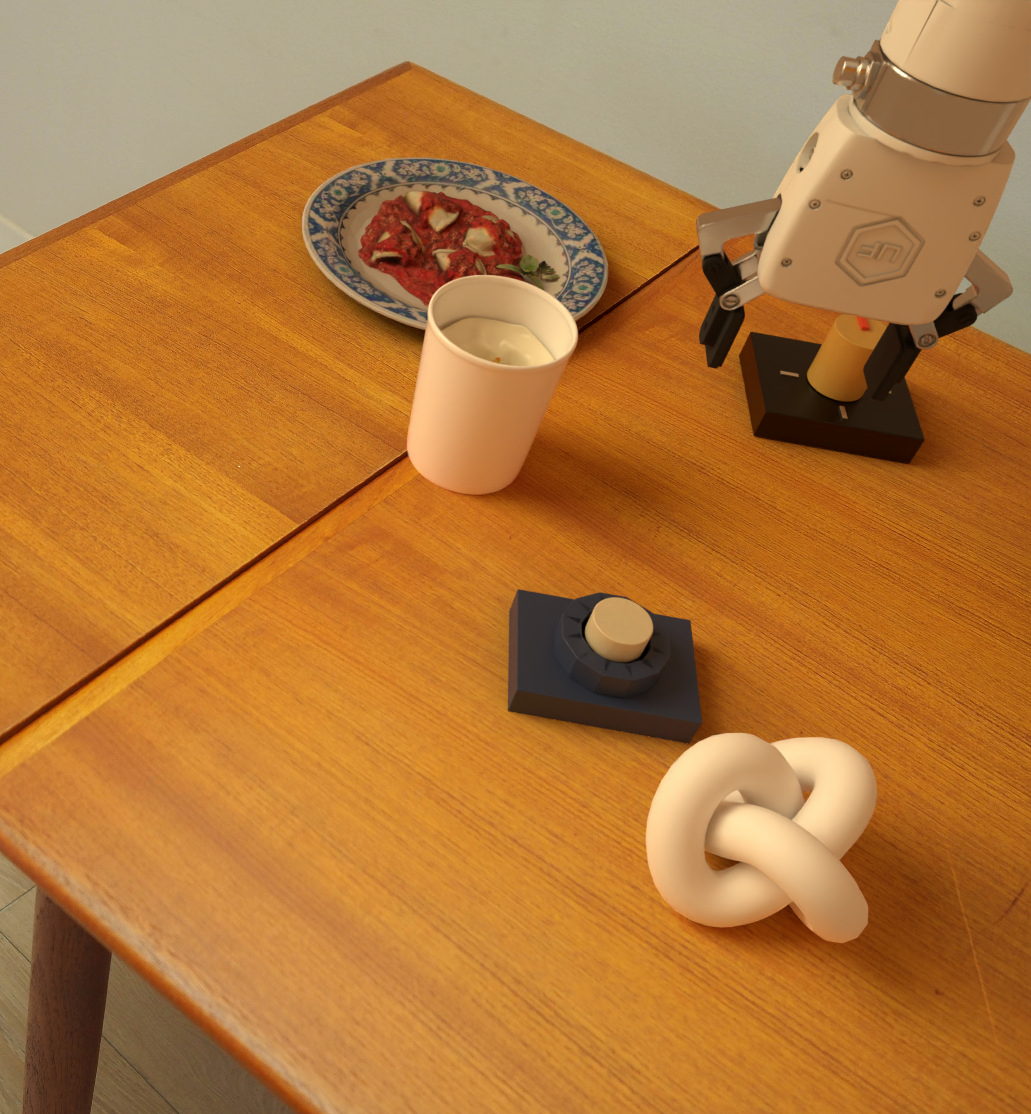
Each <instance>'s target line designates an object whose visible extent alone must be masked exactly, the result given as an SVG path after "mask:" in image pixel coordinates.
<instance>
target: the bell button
mask: <svg viewBox="0 0 1031 1114" xmlns="http://www.w3.org/2000/svg"><path fill="white" fill-rule="evenodd" d="M633 601H634V600H632V601H630V600H627V599H624V598H617V597H613V598H607V599H604V600H602V601H600V602H599V603H598V604H597V605H596V606H595V607H594V610H593V612H592V614H591V616H590V618H589V620H588V623H587V625H586V627H585V637H586V640H587V642H588V644H589V646H590V647H591V648H592V649H593V650H594V651H595V652H596V653H597V654H598V655H600V656H601V657H603V658H605V659H608V660H611V661H614V662H630V661H633V660H635V659H637V658H638V657H639V656H640V655H641V654H642V652H643V651H644V649H645V647H646V645H647V643H648V641H649V639H650V637H651V635H652V633H653V623H652V620H651V618H650V616H649V614H648V613H647V612H646V611H645V610H644V609H643V608H642V607H641V606H642V605H641V606H639V605H640V604H639V603H638V604H639V605H638V604H636V603H637V602H636V601H634V602H633ZM635 602H636V603H635Z"/></svg>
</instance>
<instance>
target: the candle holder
mask: <svg viewBox="0 0 1031 1114" xmlns="http://www.w3.org/2000/svg"><path fill="white" fill-rule="evenodd" d="M576 322H577V321H575V320H574V318H573V316H572V315H571V313H570V312H569V311H568V310H567V308H566V307H565V306H564V305H563V304H562V303H561V302H560V301H558V300H557V299H556V298H554V297H553V296H552V295H550V294H549V293H547V292H545V291H544V290H542V289H540V288H538V287H536V286H533V285H531V284H529V283H526V282H523V281H520V280H516V279H512V278H508V277H502V276H494V275H474V276H467V277H462V278H458V279H455V280H453V281H450V282H448V283H446V284H445V285H443V286H442V287H440V288H439V289H438V290H437V291H436V292H435V293H434V295H433V296H432V298H431V300H430V303H429V306H428V318H427V324H426V330H424V336H423V341H422V347H421V353H420V360H419V365H418V371H417V376H416V381H415V387H414V393H413V399H412V405H411V412H410V417H409V423H408V428H407V430H408V431H407V436H406V452H407V456H408V458H409V461H410V462H411V464H412V465H413V467H414V468H415V470H416V471H417V472H418V473H419V474H420V475H421V476H422V477H423V478H425V479H426V480H427V481H428V482H430V483H432V484H434V485H435V486H437V487H440V488H441V489H444V490H447V491H449V492H453V493H457V494H461V495H470V496H481V495H488V494H493V493H497V492H499V491H502V490H504V489H505V488H507V487H508V486H509V485H511V484H512V483H513V482H514V481H515V480H516V478H517V477H518V475H519V474H520V472H521V470H522V467H523V466H524V464H525V461H526V459H527V457H528V455H529V453H530V450H531V448H532V446H533V444H534V441H535V439H536V437H537V435H538V432H539V430H540V427H541V425H542V423H543V421H544V418H545V416H546V414H547V411H548V409H549V407H550V405H551V402H552V400H553V398H554V395H555V393H556V391H557V388H558V386H559V384H560V381H561V379H562V377H563V375H564V372H565V370H566V368H567V366H568V363H569V362H570V359H571V357H572V355H573V353H574V352H575V350H576V348H577V346H578V342H579V330H578V326H577V323H576Z"/></svg>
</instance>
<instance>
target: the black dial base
mask: <svg viewBox="0 0 1031 1114" xmlns="http://www.w3.org/2000/svg"><path fill="white" fill-rule="evenodd" d="M822 344H823V343H817V342H812V341H806V340H801V339H795V338H790V337H784V336H780V335H779V336H778V335H773V334H768V333H767V334H766V333H762V332H756V331H750V332H749V334H748V335H747V337H746V339H745V342H744V344H743V346H742V347H741V351H740V353H739V354H738V358H739V363H740V369H741V375H742V380H743V385H744V392H745V396H746V401H747V409H748V413H749V418H750V423H751V424H750V425H751V428H752V434H753V436H754V437H758V438H763V439H768V440H773V441H779V442H784V443H791V444H796V445H801V446H806V447H807V446H808V447H813V448H819V449H824V450H830V451H835V452H841V453H847V454H851V455H852V454H853V455H857V456H862V457H869V458H875V459H880V460H885V461H891V462H896V463H902V464H907V465H908V464H911V462H912V461H913V459H914V457H915V456H916V455H917V453H918V452H919V450H920V448H921V447H922V446H923V444H924V443H925V440H926V439H925V436H924V433H923V429H922V426H921V423H920V420H919V417H918V414H917V410H916V407H915V404H914V402H913V399H912V395H911V392H910V389H909V385H908V383H907V379H906V376H905V377H904V379H903V380H902V382H901V383H899V384H896V383H895V384H894V386H893V387H892V389H891V390H890V392H889V394H888V395H887V397H886V399H885V400H884V401H883V402H879V401H874V400H872V398H871V397H870V396H869V392H868V388H867V389H866V391H865V393H864V394H863V396H862V397H861V398H860V399H858V400H855V401H849V402H846V401H838V400H834V399H831V398H829V397H827V396H825V395H823V394H821V393H820V392H818V391H817V390H816V389H814V388H813V387H812V385H811V384H810V383H809V381H808V378H807V372H808V370H809V368H810V366H811V364H812V362H813V361H814V359H815V357H816V355H817V353H818V351H819V349H820V348H821V346H822Z"/></svg>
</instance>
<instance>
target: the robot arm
mask: <svg viewBox="0 0 1031 1114" xmlns="http://www.w3.org/2000/svg"><path fill="white" fill-rule="evenodd" d="M832 84H833V85H836V86H840V87H845V89H846V90H847V91H851V92H852V93H843V94H841V95H840V96H838V98H837V99H836V101H835V102H834V103H833V104H832V105H831V106H830V108H829V109H828V110H827V112H826V113H825V115H824V116H823V117H822V119H821V120H820V121H819V123H818V124H817V126H816V127H815V128H814V130H813V131H812V132H811V134H810V136H809V137H808V138H807V140H806V141H805V143H804V144H803V146H802V147H801V149H800V150H799V152H798V154H797V155H796V157H795V158H794V160H793V161H792V164H791V165H790V167H788V170H787V172H786V173H785V175H784V177H783V178H782V180H781V182H780V184H779V186H778V187H777V189H776V191H775V193H774V195H773V197H772V198H767V199H764V200H760V201H754V202H749V203H745V204H739V205H735V206H730V207H726V208H721V209H717V210H712V211H707V212H703V213H701V214H699V215H698V216H697V218H696V219H695V228H696V235H697V241H698V248H699V255H700V263H701V269H702V273H703V274H704V275H703V276H705V278H706V280H707V281H708V283H709V285H710V287H711V288H712V290H713V292H714V293H715V295H714V297H713V299H712V301H711V304H710V306H709V308H708V310H707V311H706V313H705V317H704V318H703V320H702V323H701V325H700V329H699V333H698V342H699V344H700V345H703V346H704V347H705V348H704V349H705V358H706V366H707V368H711V369H715V370H717V369H718V368H722V366H723V364H724V363H725V360H726V358H727V356H728V354H729V352H730V350H731V348H732V346H733V344H734V342H735V340H736V339H737V336H738V334H739V332H740V330H741V328H742V325H743V323H744V322H745V318H746V310H745V305H746V304H748V303H750V302H752V301H754V300H756V299H758V298H759V297H762V296H763V295H765V294H767V295H768V296H770V297H772V298H774V299H776V300H779V301H783V302H786V303H790V304H795V305H798V306H803V307H809V308H813V309H818V310H823V311H827V312H834V313H836V314H837V313H838V314H841V315H842V314H847V315H852V316H857V317H862V318H867V319H872V320H878V321H880V322H882V323H883V322H884V323H888V325H886V326H887V328H886V330H885V331H884V333H883V335H882V336H881V338H880V340H879V341H878V343H877V345H876V346H875V348H874V350H873V352H872V353H871V355H870V357H869V358H868V360H867V362H866V363H865V365H864V368H863V372H864V376H865V380H866V384H867V388H868V392H869V396H870V397H871V398H872V400H874V401H879V402H883V401H884V400H885V399H886V397H887V395H888V394H889V392H890V390H891V389H892V387H893V386H894V384H895V383H896V384H899V383H901V382H902V380H903V379H904V377H905V378H906V376H907V374H908V372H909V371H910V369H911V367H912V366H913V364H914V363H915V361H916V359H917V358H918V356H919V355H920V354H921V352H922V350H923V351H924V350H930V349H932V348H934V347H935V346H936V345H938V343H939V341H940V339H941V338H944V337H946V336H949V335H951V334H954V333H956V332H958V331H961V330H964V329H966V328H968V327H970V326H973V324H975V323H976V321H977V320H978V317H979V316H981V315H982V314H984V315H985V314H986V313H987V312H989V311H991V310H992V309H993V308H995V307H996V306H998V305H999V304H1001V303H1002V302H1004V301H1005V300H1007V299H1008V298H1009V297H1011V296H1012V295H1013V293H1014V287H1013V285H1012V281H1011V279H1010V277H1009V275H1008V274H1007V272H1005V271H1004V270H1003V269H1002V268H1001V267H1000V266H999V265H998V264H997V263H995V262H994V261H993V260H992V259H991V258H990V257H989V256H988V255H986V254H985V252H983V251H982V250H981V249H980V247H981V245H982V243H983V241H984V238H985V236H986V234H987V232H988V229H989V228H990V225H991V223H992V221H993V219H994V216H995V214H996V211H997V209H998V207H999V204H1000V202H1001V199H1002V197H1003V194H1004V192H1005V190H1006V186H1007V183H1008V181H1009V178H1010V176H1011V171H1012V170H1013V166H1014V163H1015V160H1016V152H1015V150H1014V148H1013V146H1012V145H1011V144H1010V142H1009V141H1008V139H1009V138H1010V135H1011V133H1012V132H1013V130H1014V128H1015V127H1016V125H1017V124H1018V122H1019V120H1020V119H1021V117H1022V116H1023V114H1024V111H1026V108H1027V107H1028V105H1029V103H1030V102H1031V0H898V1H897V3H896V5H895V7H894V9H893V11H892V13H891V15H890V17H889V19H888V21H887V23H886V26H885V27H884V30H883V31H882V33H881V35H880V39H875V40H874V41H873V42H872V45H871V48H870V49H869V50H868V52H867V53H866V54H865V55H864V56H861V55H858V56H856V57H851V56H846V55H845V56H844V55H842V56H841V57H840V58H839V59H838V60H837V63H836V64H835V67H834V70H833V74H832ZM752 235H754V238H753V244H752V246H753V249H752V250H750V251H747V252H746V253H744V254H742V255H741V256H739V257H737V258H736V259H733V260H732V261H731V260H730V259H729V257H728V255H727V253H726V251H725V250H724V245H725V243H726V242H727V241H729V240H732V239H738V238H742V237H746V236H752ZM964 278H965V279H966V280H967V281H968V282H969V283H971V285H970V286H969V287H967V288H965V291H964V292H958V293H956V292H957V290H958V289H959V287H960V285H961V283H962V281H963V280H964Z"/></svg>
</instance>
